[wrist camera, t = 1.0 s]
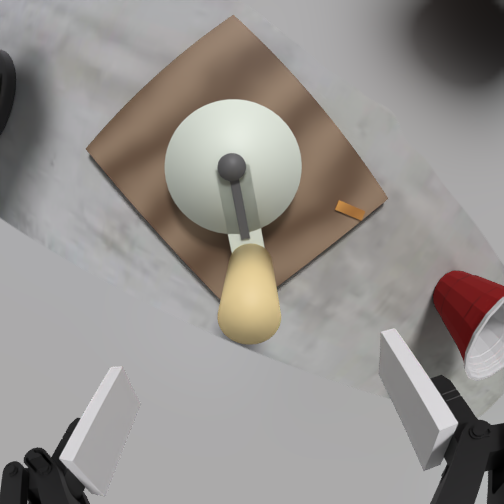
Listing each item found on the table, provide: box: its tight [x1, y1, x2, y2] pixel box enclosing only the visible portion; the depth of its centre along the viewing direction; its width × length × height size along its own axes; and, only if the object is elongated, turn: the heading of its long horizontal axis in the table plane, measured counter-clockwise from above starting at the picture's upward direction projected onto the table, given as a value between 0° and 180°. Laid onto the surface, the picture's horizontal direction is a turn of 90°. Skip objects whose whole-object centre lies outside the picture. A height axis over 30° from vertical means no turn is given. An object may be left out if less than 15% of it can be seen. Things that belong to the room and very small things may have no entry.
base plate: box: [86, 15, 388, 300], centre depth 29 cm, size 24×20×1 cm
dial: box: [165, 99, 302, 344], centre depth 23 cm, size 17×12×12 cm
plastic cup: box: [433, 271, 504, 381], centre depth 28 cm, size 11×11×12 cm
